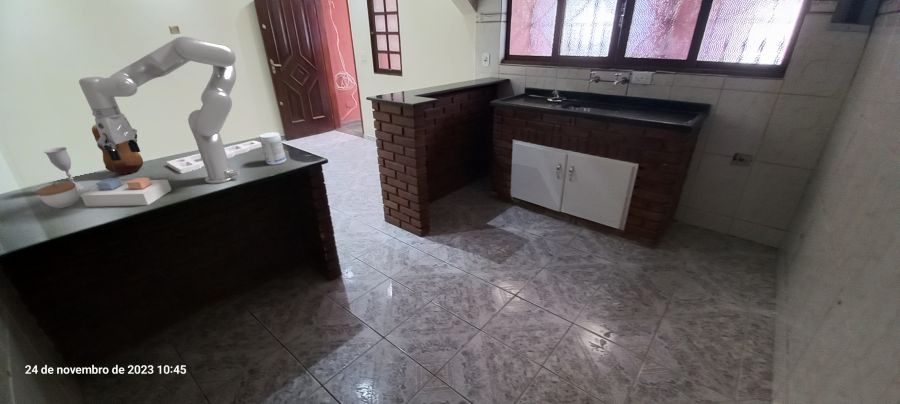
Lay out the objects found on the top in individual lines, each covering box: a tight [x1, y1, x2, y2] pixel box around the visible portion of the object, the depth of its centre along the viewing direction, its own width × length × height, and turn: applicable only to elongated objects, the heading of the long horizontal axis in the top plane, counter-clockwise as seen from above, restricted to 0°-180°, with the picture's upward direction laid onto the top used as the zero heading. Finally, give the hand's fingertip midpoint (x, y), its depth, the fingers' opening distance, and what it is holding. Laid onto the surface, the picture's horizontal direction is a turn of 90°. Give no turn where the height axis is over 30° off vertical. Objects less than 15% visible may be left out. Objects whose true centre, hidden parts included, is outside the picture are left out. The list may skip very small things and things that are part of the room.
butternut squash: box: [91, 123, 144, 175], centre depth 166 cm, size 14×13×25 cm
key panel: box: [80, 179, 172, 207], centre depth 145 cm, size 24×14×5 cm, turn 92°
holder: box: [166, 140, 262, 174], centre depth 191 cm, size 45×18×3 cm, turn 143°
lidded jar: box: [36, 181, 80, 209], centre depth 139 cm, size 11×11×9 cm
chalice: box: [43, 146, 85, 191], centre depth 151 cm, size 7×7×18 cm
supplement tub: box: [259, 131, 287, 166], centre depth 180 cm, size 10×10×15 cm
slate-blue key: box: [95, 177, 122, 190], centre depth 143 cm, size 5×5×3 cm
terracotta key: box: [127, 177, 151, 189], centre depth 144 cm, size 5×5×3 cm
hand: (126, 155), depth 138 cm, fingers open, 9 cm apart
